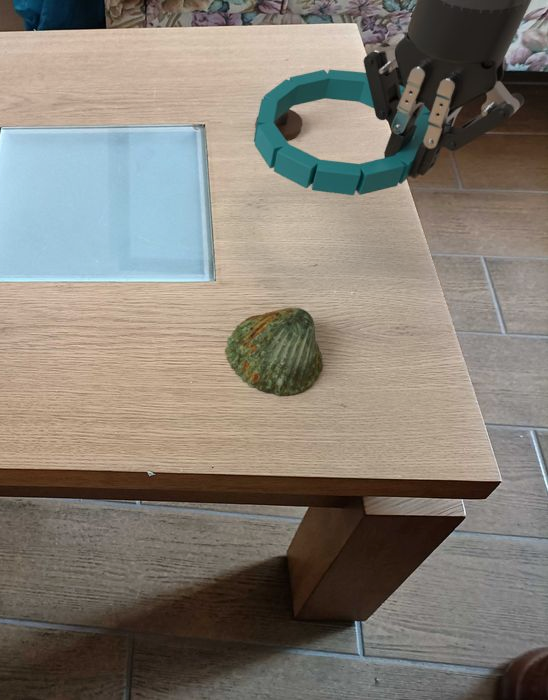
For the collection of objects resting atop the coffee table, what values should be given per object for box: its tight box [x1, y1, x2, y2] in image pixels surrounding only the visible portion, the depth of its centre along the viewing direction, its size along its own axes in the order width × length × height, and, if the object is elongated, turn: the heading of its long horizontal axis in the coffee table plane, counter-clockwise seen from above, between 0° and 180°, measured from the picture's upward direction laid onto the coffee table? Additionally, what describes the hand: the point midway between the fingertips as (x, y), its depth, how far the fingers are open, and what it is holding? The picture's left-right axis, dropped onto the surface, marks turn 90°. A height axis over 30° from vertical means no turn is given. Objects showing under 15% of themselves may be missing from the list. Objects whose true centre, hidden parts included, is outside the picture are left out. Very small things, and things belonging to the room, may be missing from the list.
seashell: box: [224, 307, 324, 397], centre depth 68 cm, size 10×4×10 cm
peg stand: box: [255, 108, 303, 142], centre depth 88 cm, size 6×6×6 cm
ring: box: [253, 69, 431, 196], centre depth 66 cm, size 16×16×2 cm
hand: (405, 167), depth 63 cm, fingers closed on ring, 1 cm apart
